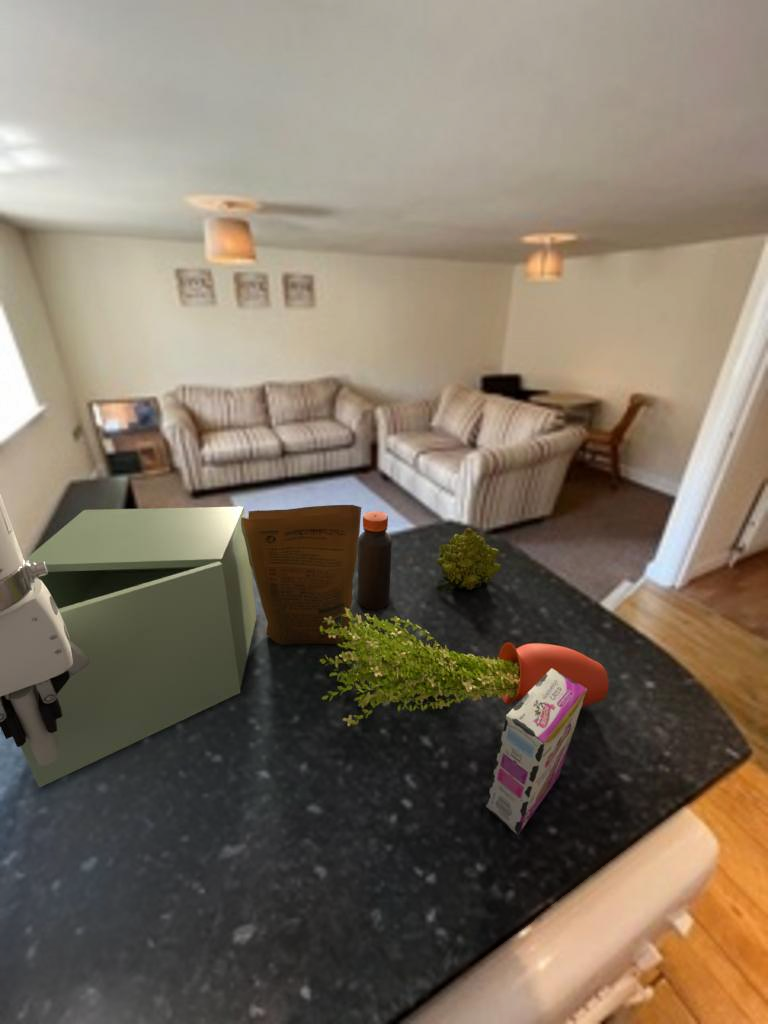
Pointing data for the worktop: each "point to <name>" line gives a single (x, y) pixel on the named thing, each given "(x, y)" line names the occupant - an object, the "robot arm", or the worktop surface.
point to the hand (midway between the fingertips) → (37, 728)
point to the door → (134, 670)
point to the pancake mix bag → (303, 568)
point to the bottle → (374, 561)
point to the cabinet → (151, 557)
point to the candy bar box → (534, 748)
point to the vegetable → (467, 561)
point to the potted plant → (449, 668)
